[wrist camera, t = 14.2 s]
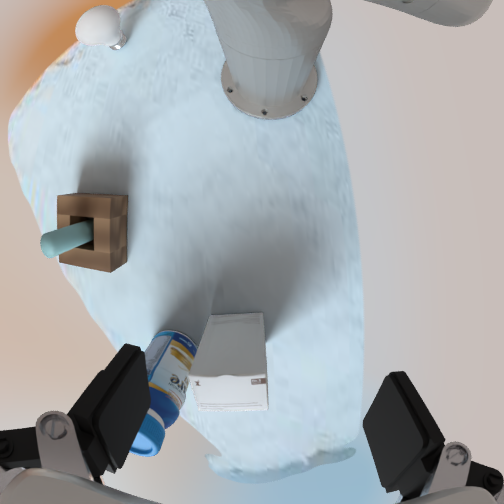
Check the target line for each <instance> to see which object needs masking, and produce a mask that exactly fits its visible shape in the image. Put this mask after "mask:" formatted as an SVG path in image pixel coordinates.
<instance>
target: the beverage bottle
mask: <svg viewBox="0 0 504 504" xmlns="http://www.w3.org/2000/svg"><path fill="white" fill-rule="evenodd" d="M196 352H197V347H196V345H195V344H194V342H193V341H192V340H191V339H190V338H189V337H187V336H186V335H184V334H182V333H180V332H177V331H172V330H166V331H162V332H160V333H158V334H157V335H155V336H154V338H153V339H152V341H151V343H150V345H149V346H148V348H147V349H146V351H145V352H144V353H145V359H146V368H147V376H148V383H149V390H150V396H151V405H150V408H149V410H148V412H147V414H146V416H145V418H144V421H143V423H142V425H141V427H140V429H139V431H138V434H137V436H136V438H135V440H134V442H133V444H132V447H131V449H130V451H129V452H131V453H133V454H136V455H140V456H146V457H150V456H154V455H156V454H157V453H158V452H159V451H160V449H161V446H162V443H163V440H164V437H165V429H166V428H168V427H170V426H171V425H172V424H173V423H174V422H175V421H176V419H177V418H178V416H179V410H180V409H181V408H182V406H183V404H184V402H185V398H186V390H187V388H188V385H189V382H190V380H189V377H188V374H189V372H190V369H191V366H192V363H193V361H194V358H195V355H196Z"/></svg>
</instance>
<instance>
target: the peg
mask: <svg viewBox="0 0 504 504" xmlns="http://www.w3.org/2000/svg"><path fill="white" fill-rule="evenodd" d="M91 240H94V218H93V219H89V220H86V221H83V222H79V223H76V224H73V225H70V226H67V227H63V228H60V229H57V230H54V231H51V232H48V233H45V234H43V236H42V238H41V242H40V244H41V249H42V252H43V253H44V255H45V256H46V257H48V258H53V257H55V256H57V255H59V254H62V253H64V252H66V251H68V250H70V249H73V248H75V247H77V246H80V245H82V244H84V243H87V242H89V241H91Z"/></svg>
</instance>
